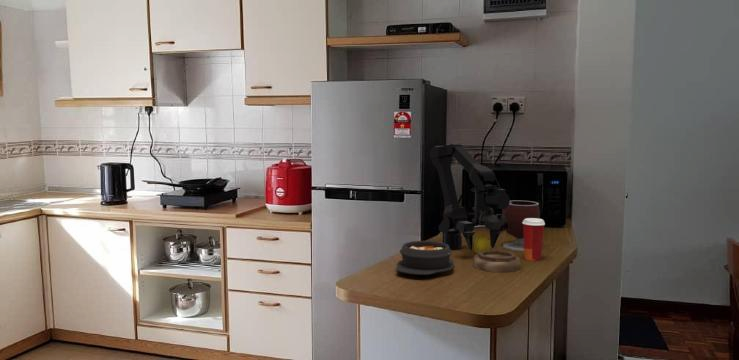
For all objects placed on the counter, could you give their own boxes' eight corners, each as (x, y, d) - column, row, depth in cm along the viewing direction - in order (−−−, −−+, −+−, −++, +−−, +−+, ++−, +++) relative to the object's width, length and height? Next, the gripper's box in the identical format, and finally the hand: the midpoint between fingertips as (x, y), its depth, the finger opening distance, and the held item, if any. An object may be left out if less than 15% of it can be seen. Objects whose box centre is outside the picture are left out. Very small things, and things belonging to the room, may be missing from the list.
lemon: (472, 255, 228) (472, 233, 227) (487, 254, 228) (487, 233, 227) (475, 258, 222) (476, 236, 221) (491, 258, 223) (492, 236, 222)
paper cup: (544, 257, 225) (546, 218, 223) (543, 262, 217) (544, 222, 216) (522, 255, 227) (523, 217, 225) (519, 260, 220) (521, 220, 218)
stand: (465, 266, 210) (465, 254, 210) (488, 259, 222) (488, 247, 221) (505, 274, 201) (506, 261, 200) (527, 266, 212) (528, 253, 212)
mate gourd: (535, 243, 247) (537, 193, 245) (541, 251, 234) (543, 198, 231) (495, 242, 249) (496, 192, 247) (498, 250, 235) (500, 197, 233)
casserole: (437, 283, 190) (438, 256, 189) (382, 275, 199) (382, 249, 198) (465, 265, 212) (466, 241, 211) (415, 259, 221) (415, 235, 220)
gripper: (473, 210, 212) (472, 256, 214) (518, 207, 220) (517, 251, 221) (455, 205, 222) (454, 249, 224) (499, 202, 230) (498, 245, 231)
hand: (481, 248), depth 225 cm, fingers open, 9 cm apart
